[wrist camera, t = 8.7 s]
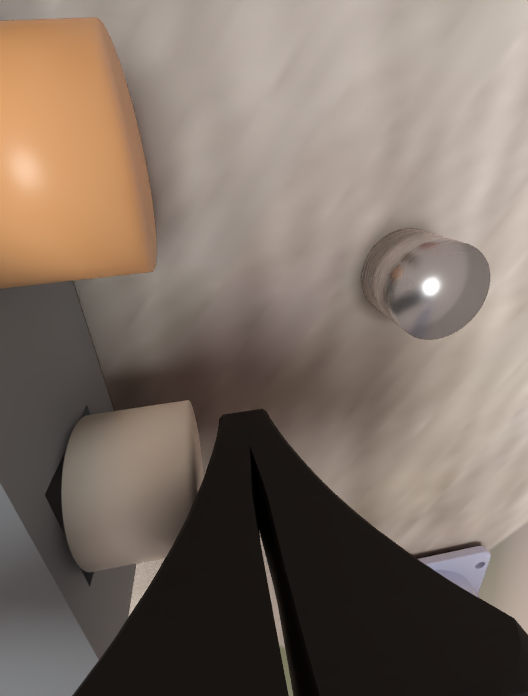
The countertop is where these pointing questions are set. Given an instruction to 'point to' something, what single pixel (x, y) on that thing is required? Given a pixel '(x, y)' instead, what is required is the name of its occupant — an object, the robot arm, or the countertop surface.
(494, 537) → the countertop surface
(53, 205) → the orange knob
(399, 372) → the countertop surface
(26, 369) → the mount
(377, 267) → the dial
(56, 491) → the cream knob
